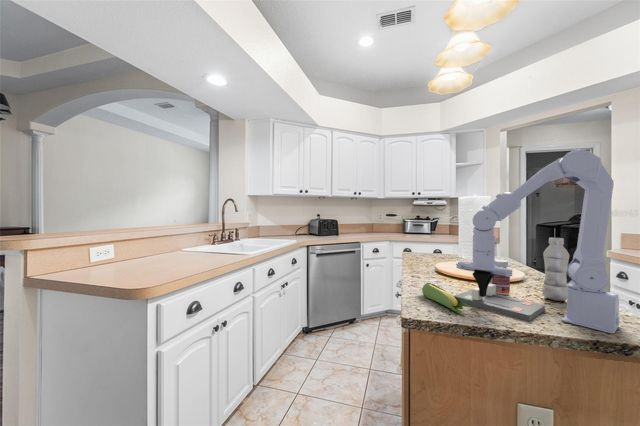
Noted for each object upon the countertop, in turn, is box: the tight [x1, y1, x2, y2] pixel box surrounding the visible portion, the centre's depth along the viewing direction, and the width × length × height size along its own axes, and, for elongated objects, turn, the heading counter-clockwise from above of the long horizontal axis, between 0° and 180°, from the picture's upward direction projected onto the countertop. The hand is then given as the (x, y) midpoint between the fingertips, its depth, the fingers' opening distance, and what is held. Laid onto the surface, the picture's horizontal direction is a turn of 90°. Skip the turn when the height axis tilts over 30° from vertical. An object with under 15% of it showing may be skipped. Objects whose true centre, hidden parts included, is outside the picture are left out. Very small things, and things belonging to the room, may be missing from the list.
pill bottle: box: [489, 258, 511, 296], centre depth 97 cm, size 6×6×11 cm
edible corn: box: [421, 282, 469, 316], centre depth 85 cm, size 5×20×5 cm, turn 10°
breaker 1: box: [471, 286, 484, 300], centre depth 85 cm, size 2×4×3 cm, turn 127°
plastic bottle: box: [541, 237, 570, 302], centre depth 90 cm, size 6×7×20 cm
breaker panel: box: [454, 289, 546, 322], centre depth 84 cm, size 20×13×2 cm, turn 37°
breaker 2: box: [486, 284, 496, 296], centre depth 89 cm, size 2×4×3 cm, turn 127°
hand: (483, 295), depth 84 cm, fingers closed
